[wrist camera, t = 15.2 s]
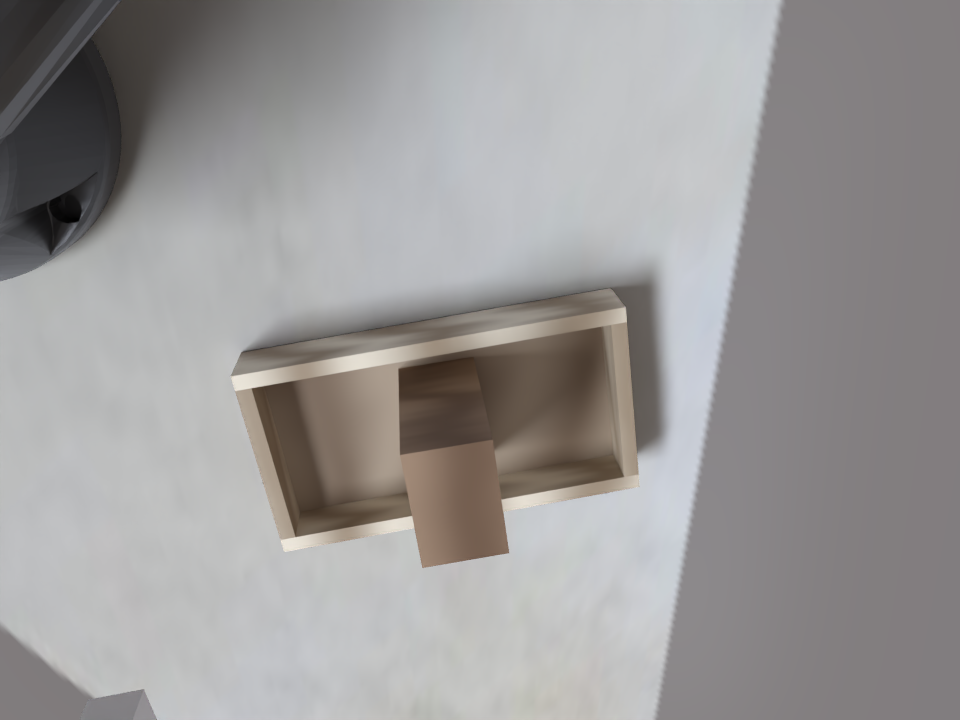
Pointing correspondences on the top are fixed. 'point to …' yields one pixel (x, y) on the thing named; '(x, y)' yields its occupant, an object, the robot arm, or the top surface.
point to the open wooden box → (375, 412)
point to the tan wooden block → (449, 463)
